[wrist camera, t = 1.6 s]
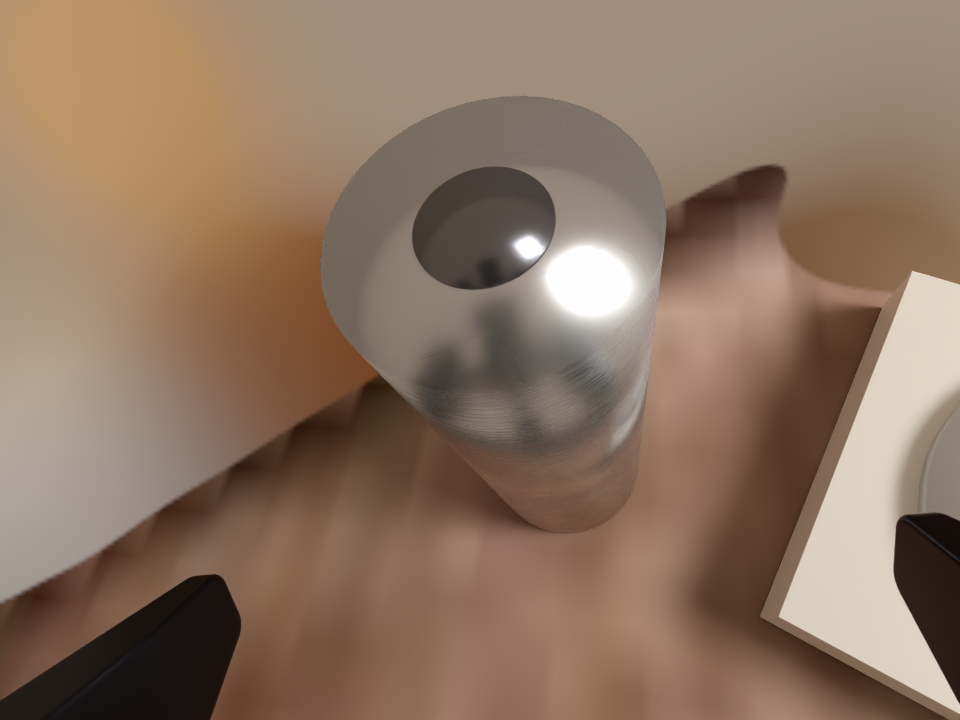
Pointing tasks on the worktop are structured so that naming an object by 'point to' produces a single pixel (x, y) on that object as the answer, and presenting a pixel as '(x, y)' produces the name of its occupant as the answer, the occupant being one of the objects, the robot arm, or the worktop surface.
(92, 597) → the worktop surface
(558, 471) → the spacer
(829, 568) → the scale
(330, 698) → the worktop surface
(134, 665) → the robot arm
